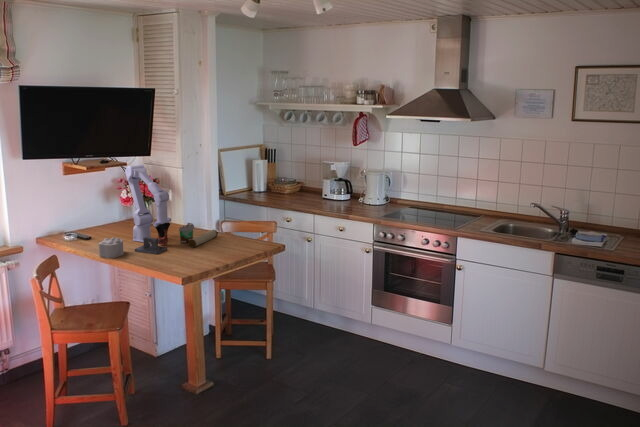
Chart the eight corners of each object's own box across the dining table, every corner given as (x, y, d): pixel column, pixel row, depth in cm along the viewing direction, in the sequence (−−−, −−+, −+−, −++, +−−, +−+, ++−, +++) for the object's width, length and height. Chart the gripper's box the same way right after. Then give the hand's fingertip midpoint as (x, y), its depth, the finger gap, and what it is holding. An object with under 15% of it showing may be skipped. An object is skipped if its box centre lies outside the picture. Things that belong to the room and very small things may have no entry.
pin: (161, 242, 342) (161, 229, 340) (167, 243, 341) (167, 229, 339) (147, 248, 330) (146, 234, 328) (153, 249, 328) (152, 235, 326)
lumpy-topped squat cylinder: (96, 256, 317) (95, 240, 315) (112, 250, 329) (112, 235, 327) (112, 258, 314) (111, 243, 312) (128, 252, 326) (127, 237, 324)
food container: (189, 245, 342) (189, 228, 340) (179, 244, 343) (179, 227, 341) (198, 239, 354) (197, 223, 352) (188, 238, 355) (187, 222, 353)
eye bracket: (145, 246, 337) (145, 234, 335) (167, 249, 332) (166, 237, 330) (134, 251, 327) (134, 239, 326) (156, 254, 323) (156, 242, 321)
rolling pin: (192, 250, 333) (191, 241, 332) (183, 248, 335) (183, 240, 334) (221, 236, 363) (221, 228, 362) (213, 235, 365) (213, 227, 364)
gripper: (160, 216, 328) (161, 240, 331) (175, 211, 341) (176, 234, 344) (149, 215, 330) (150, 238, 333) (165, 209, 344) (165, 232, 347)
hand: (162, 236), depth 339 cm, fingers closed on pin, 3 cm apart
